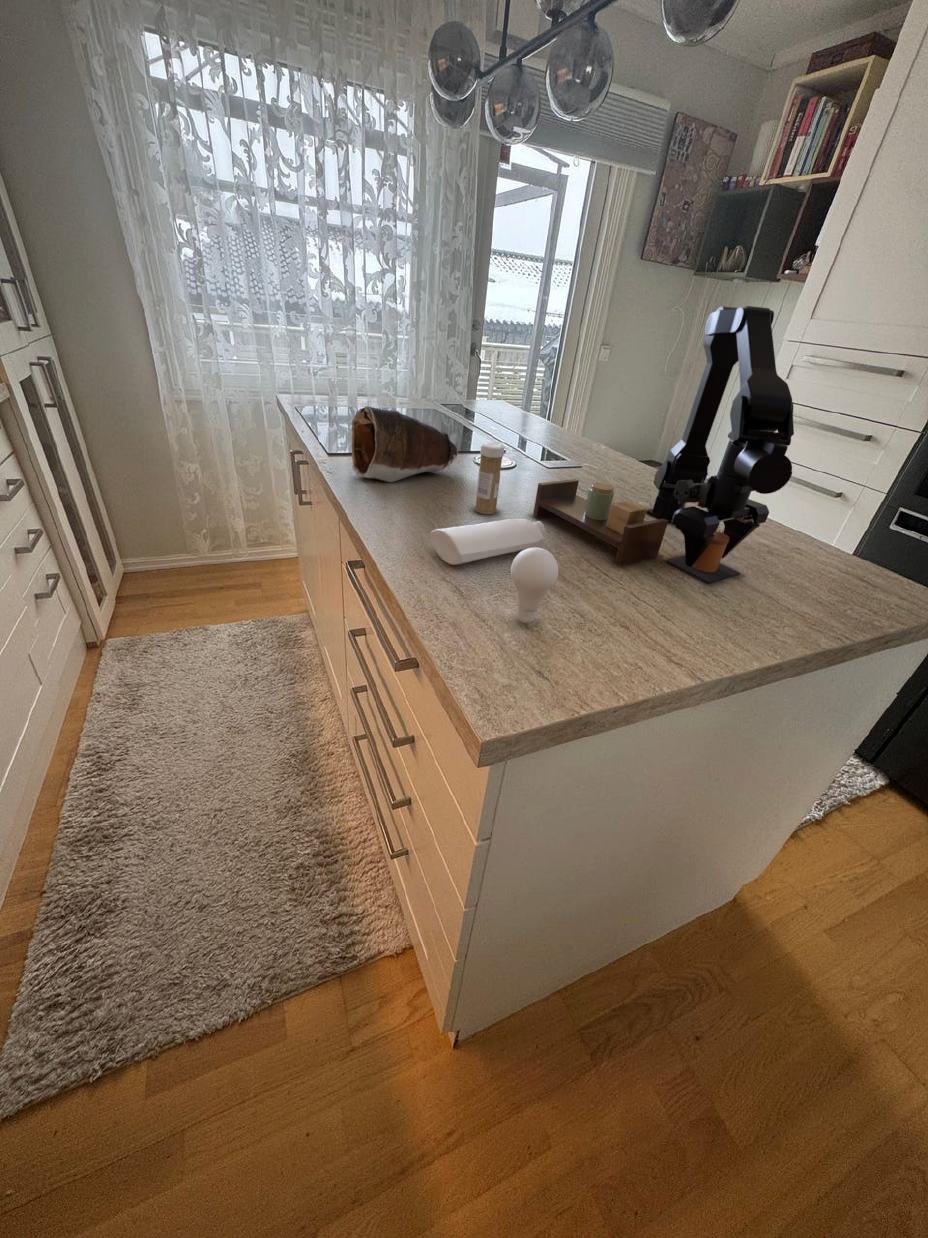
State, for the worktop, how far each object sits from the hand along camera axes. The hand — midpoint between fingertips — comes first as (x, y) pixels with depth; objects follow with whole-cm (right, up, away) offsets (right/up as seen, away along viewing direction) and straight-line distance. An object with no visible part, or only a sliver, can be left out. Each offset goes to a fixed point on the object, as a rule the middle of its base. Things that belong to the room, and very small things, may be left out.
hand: (704, 561), depth 91 cm
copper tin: (0, -1, +1) cm, 1 cm away
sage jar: (-17, +10, +7) cm, 21 cm away
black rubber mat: (0, -1, +1) cm, 1 cm away
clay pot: (-56, +24, +32) cm, 69 cm away
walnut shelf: (-18, +6, +10) cm, 21 cm away
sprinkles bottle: (-38, +12, +16) cm, 43 cm away
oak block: (-14, +6, +3) cm, 15 cm away
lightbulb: (-34, -11, -20) cm, 41 cm away
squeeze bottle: (-38, +1, -1) cm, 38 cm away
